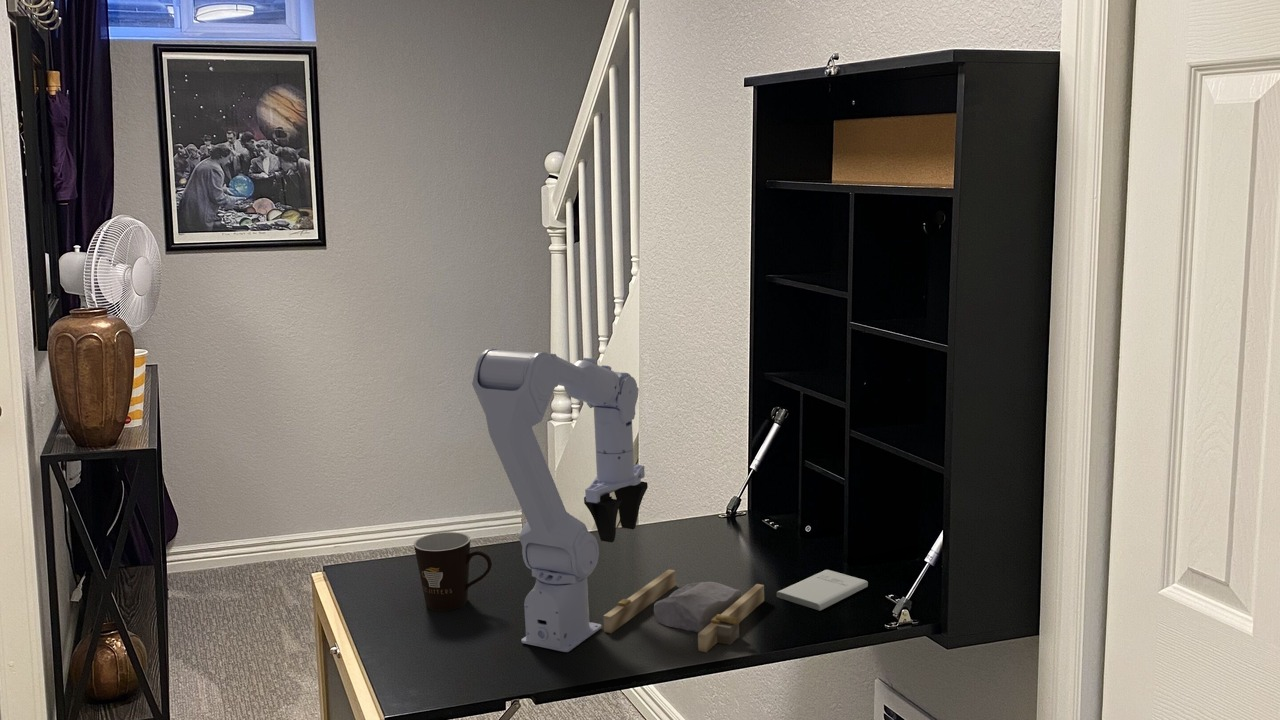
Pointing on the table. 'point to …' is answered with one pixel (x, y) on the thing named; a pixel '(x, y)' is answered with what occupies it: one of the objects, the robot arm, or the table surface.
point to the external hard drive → (822, 589)
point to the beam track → (716, 632)
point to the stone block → (695, 605)
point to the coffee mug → (446, 569)
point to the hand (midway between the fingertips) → (618, 534)
